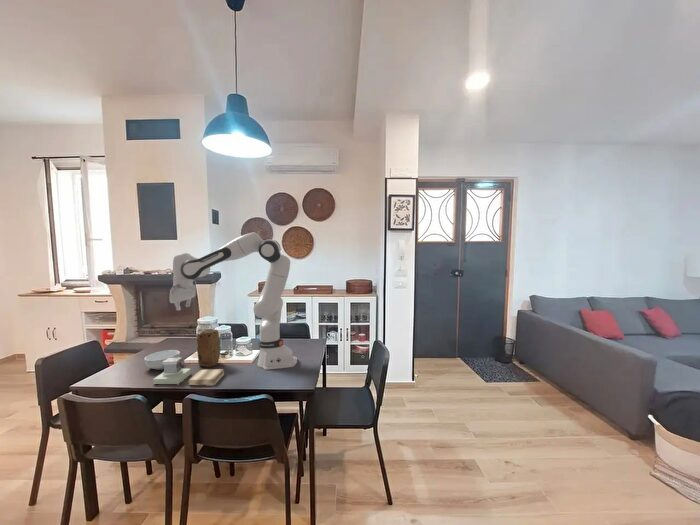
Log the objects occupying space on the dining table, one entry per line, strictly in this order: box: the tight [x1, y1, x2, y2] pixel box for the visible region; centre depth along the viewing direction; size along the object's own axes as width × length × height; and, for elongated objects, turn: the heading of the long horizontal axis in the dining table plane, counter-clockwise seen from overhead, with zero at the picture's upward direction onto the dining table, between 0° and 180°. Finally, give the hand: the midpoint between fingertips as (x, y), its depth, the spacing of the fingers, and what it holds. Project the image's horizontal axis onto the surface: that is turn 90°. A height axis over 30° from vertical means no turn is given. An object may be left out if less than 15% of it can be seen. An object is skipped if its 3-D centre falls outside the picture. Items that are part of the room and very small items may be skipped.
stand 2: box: [188, 368, 225, 386], centre depth 145 cm, size 12×12×3 cm
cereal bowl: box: [143, 349, 181, 370], centre depth 162 cm, size 17×17×7 cm
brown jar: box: [196, 328, 221, 368], centre depth 164 cm, size 11×8×20 cm
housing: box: [162, 357, 184, 376], centre depth 146 cm, size 7×6×7 cm
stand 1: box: [152, 368, 192, 385], centre depth 146 cm, size 12×12×3 cm
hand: (183, 308), depth 157 cm, fingers open, 8 cm apart
